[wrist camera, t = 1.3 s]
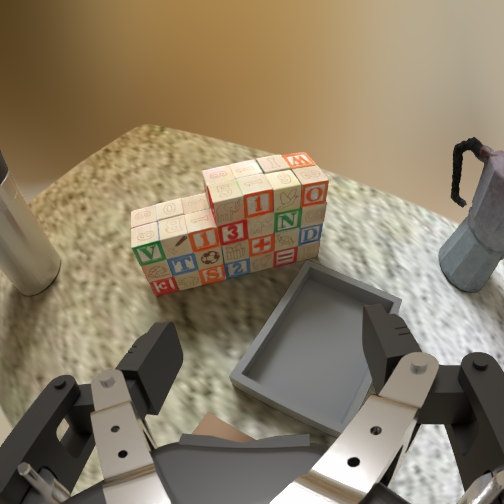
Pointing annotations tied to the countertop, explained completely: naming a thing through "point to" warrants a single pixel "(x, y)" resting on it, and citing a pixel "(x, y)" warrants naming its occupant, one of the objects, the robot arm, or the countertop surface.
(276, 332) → the charcoal tray
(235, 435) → the walnut block
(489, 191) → the moka pot
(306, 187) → the stack of blocks
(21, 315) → the countertop surface
